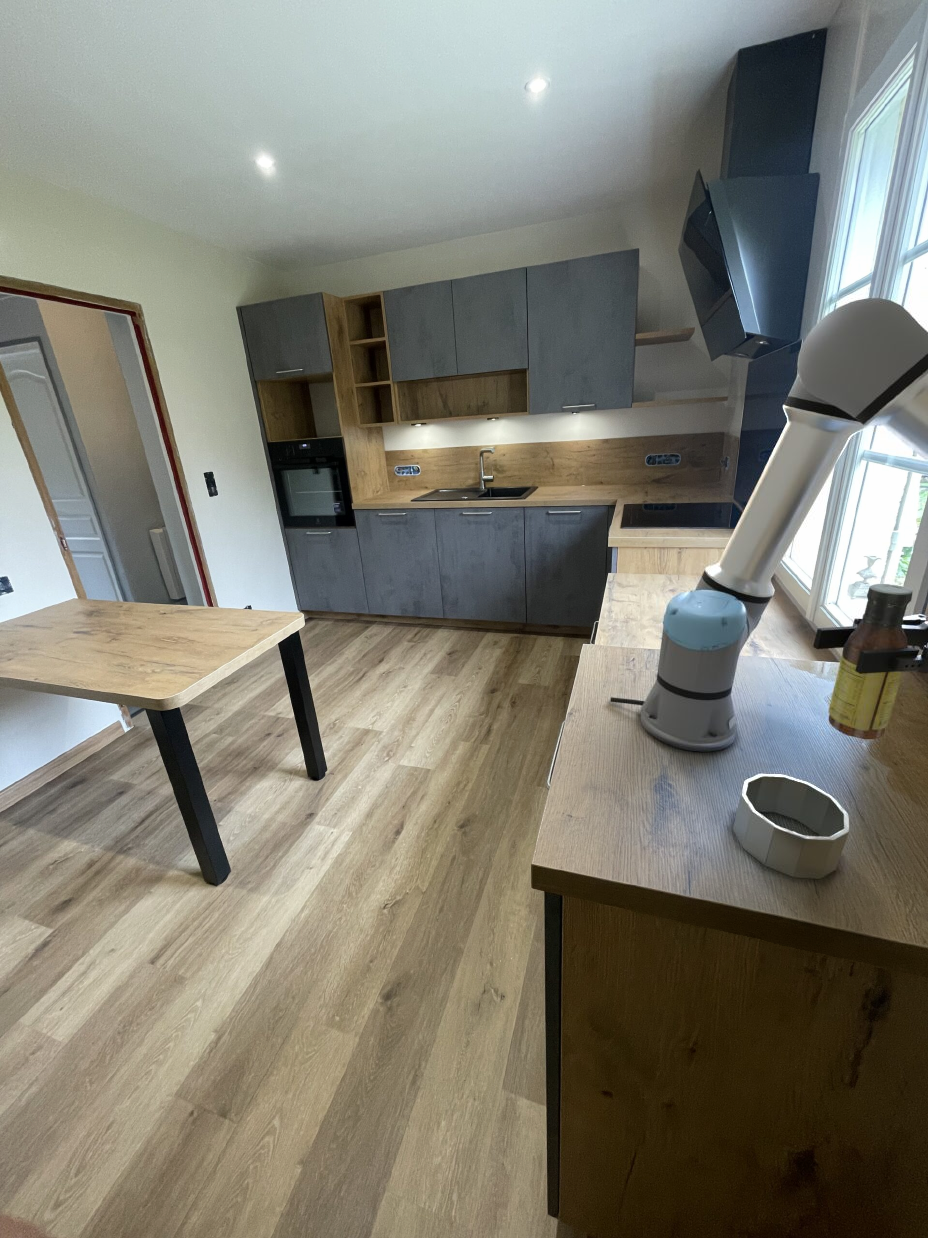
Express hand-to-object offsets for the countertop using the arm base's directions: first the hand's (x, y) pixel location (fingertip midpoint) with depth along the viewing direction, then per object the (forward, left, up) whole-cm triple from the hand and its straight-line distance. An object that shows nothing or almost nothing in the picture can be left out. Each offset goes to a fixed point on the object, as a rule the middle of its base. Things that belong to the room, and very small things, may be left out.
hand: (838, 649), depth 60 cm
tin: (-1, -11, -23) cm, 25 cm away
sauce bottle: (+4, +3, -12) cm, 13 cm away
